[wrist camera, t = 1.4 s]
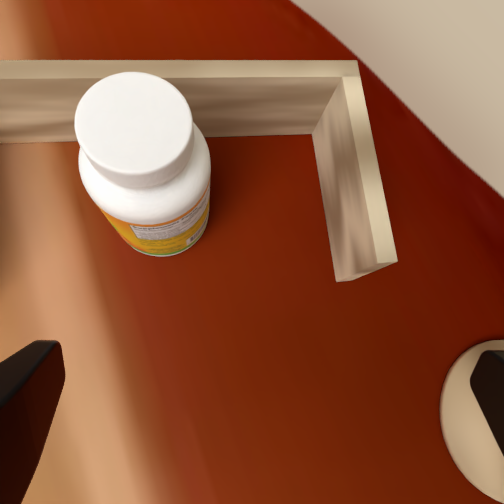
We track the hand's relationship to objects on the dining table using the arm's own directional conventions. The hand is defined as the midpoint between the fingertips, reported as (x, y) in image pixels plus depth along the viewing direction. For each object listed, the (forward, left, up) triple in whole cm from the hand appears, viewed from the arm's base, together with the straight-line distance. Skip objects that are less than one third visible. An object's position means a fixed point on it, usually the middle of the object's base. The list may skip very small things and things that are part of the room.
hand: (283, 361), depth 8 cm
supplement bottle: (0, +9, -14) cm, 16 cm away
